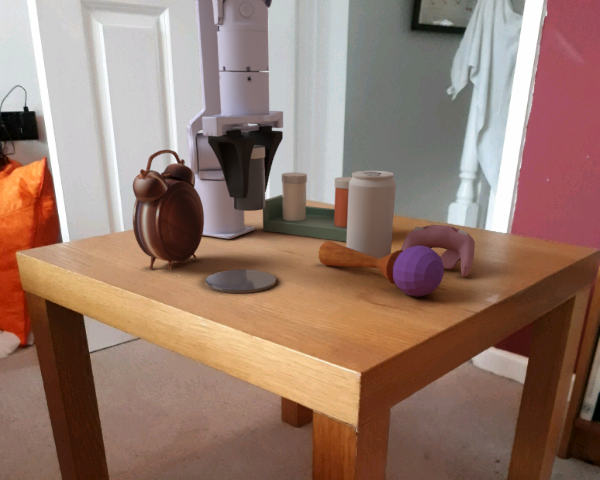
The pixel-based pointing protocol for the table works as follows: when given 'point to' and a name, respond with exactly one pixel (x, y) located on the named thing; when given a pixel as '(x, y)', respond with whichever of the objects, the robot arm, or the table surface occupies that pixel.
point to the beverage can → (371, 212)
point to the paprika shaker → (341, 201)
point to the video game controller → (445, 244)
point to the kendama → (393, 266)
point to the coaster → (240, 281)
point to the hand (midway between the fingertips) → (247, 194)
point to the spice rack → (302, 222)
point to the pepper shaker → (254, 183)
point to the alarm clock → (167, 212)
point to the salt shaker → (294, 196)
